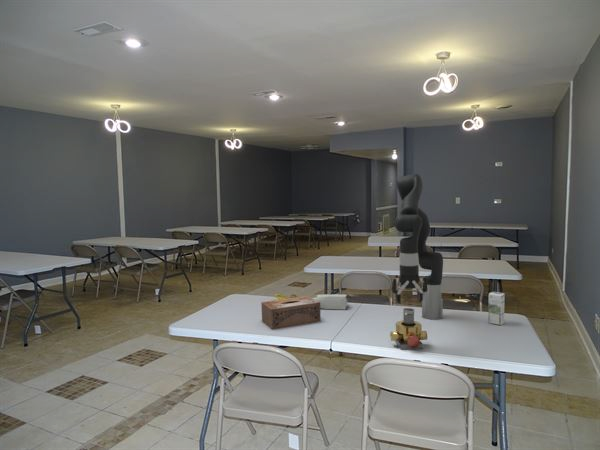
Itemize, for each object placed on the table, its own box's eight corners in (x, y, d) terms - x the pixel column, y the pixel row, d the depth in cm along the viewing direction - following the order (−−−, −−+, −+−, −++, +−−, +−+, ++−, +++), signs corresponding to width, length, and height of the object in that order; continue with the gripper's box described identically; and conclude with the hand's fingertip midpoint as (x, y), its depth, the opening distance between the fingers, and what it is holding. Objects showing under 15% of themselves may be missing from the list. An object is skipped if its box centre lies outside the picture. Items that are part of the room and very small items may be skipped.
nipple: (412, 329, 172) (412, 308, 171) (415, 332, 167) (415, 310, 167) (402, 329, 172) (402, 308, 171) (405, 332, 167) (405, 311, 167)
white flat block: (309, 293, 250) (305, 294, 225) (347, 294, 247) (347, 294, 223) (309, 307, 249) (305, 309, 224) (347, 308, 246) (347, 309, 221)
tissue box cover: (271, 330, 193) (271, 309, 193) (262, 321, 207) (261, 302, 206) (320, 322, 204) (320, 302, 203) (308, 314, 217) (307, 295, 216)
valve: (422, 340, 175) (422, 319, 174) (431, 351, 163) (431, 329, 162) (388, 341, 175) (388, 320, 174) (395, 352, 163) (395, 330, 162)
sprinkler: (294, 312, 221) (310, 302, 239) (292, 300, 221) (309, 291, 239) (260, 311, 232) (278, 301, 250) (258, 299, 232) (276, 290, 249)
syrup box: (504, 322, 196) (505, 292, 195) (500, 325, 192) (501, 295, 190) (492, 320, 200) (492, 291, 199) (487, 323, 195) (488, 293, 194)
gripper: (423, 261, 171) (423, 299, 172) (389, 262, 171) (390, 300, 172) (429, 264, 163) (429, 304, 165) (393, 265, 163) (394, 305, 165)
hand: (409, 302), depth 168 cm, fingers open, 8 cm apart
